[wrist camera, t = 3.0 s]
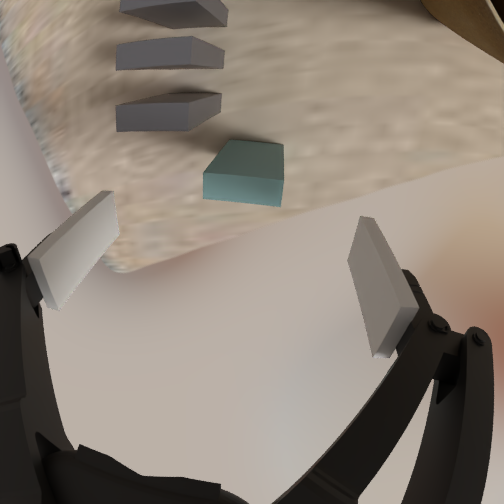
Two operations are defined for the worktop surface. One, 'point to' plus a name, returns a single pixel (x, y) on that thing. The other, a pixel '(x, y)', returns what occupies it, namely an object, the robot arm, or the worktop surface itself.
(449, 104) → the worktop surface
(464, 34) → the plant pot
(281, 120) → the worktop surface
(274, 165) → the domino
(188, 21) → the domino
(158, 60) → the domino
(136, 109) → the domino
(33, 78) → the worktop surface
